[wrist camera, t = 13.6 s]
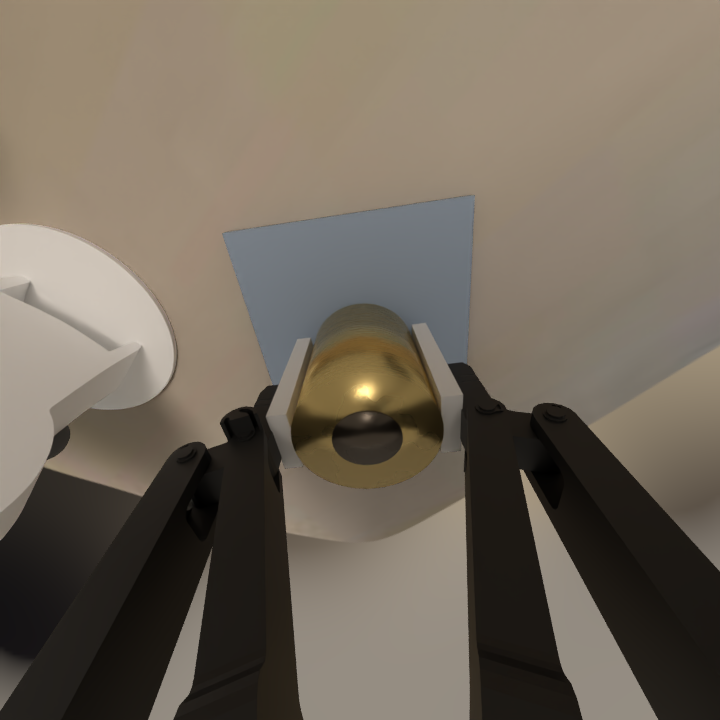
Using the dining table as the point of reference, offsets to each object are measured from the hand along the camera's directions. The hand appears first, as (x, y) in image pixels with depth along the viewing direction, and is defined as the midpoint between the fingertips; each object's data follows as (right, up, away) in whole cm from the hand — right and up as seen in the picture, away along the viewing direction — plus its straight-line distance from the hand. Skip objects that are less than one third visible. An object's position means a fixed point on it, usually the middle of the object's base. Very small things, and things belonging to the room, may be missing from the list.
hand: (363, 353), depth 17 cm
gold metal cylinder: (0, 0, 0) cm, 0 cm away
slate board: (0, +1, +1) cm, 1 cm away
